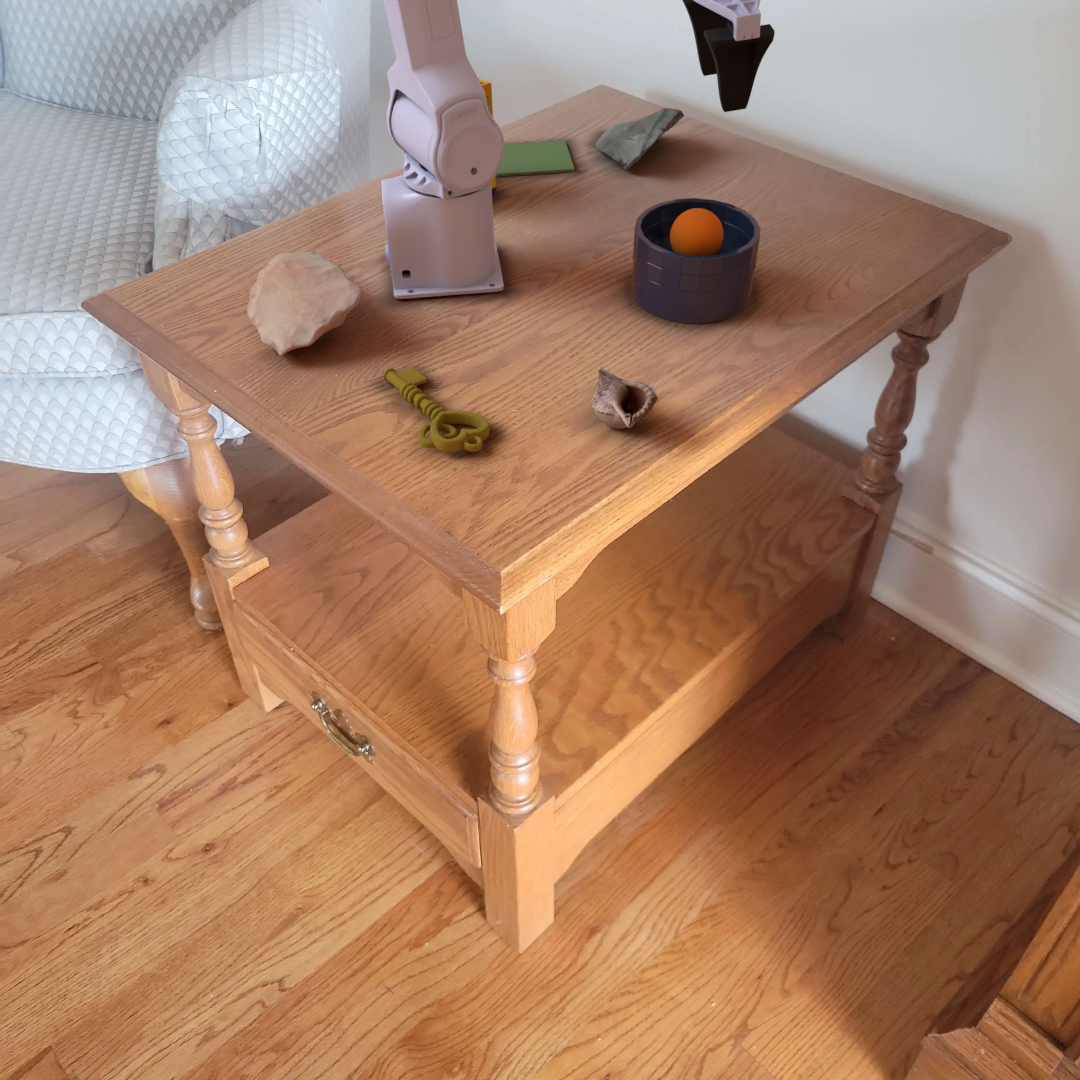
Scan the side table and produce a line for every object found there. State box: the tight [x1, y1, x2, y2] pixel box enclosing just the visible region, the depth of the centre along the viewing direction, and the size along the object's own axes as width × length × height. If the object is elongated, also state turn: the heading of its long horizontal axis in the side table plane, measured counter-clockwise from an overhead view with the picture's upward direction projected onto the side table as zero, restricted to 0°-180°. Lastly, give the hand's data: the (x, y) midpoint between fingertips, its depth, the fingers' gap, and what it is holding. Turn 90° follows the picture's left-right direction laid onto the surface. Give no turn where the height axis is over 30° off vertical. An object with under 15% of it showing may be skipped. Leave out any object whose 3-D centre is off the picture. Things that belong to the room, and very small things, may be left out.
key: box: [382, 366, 491, 453], centre depth 75 cm, size 12×1×5 cm
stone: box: [595, 107, 685, 171], centre depth 105 cm, size 11×4×10 cm
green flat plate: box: [496, 139, 576, 178], centre depth 106 cm, size 8×7×1 cm
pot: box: [631, 197, 762, 325], centre depth 85 cm, size 10×10×6 cm
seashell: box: [591, 367, 659, 429], centre depth 73 cm, size 4×8×4 cm
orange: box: [670, 208, 724, 256], centre depth 84 cm, size 4×4×4 cm
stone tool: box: [246, 250, 363, 356], centre depth 84 cm, size 9×5×15 cm
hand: (723, 90), depth 93 cm, fingers open, 7 cm apart
